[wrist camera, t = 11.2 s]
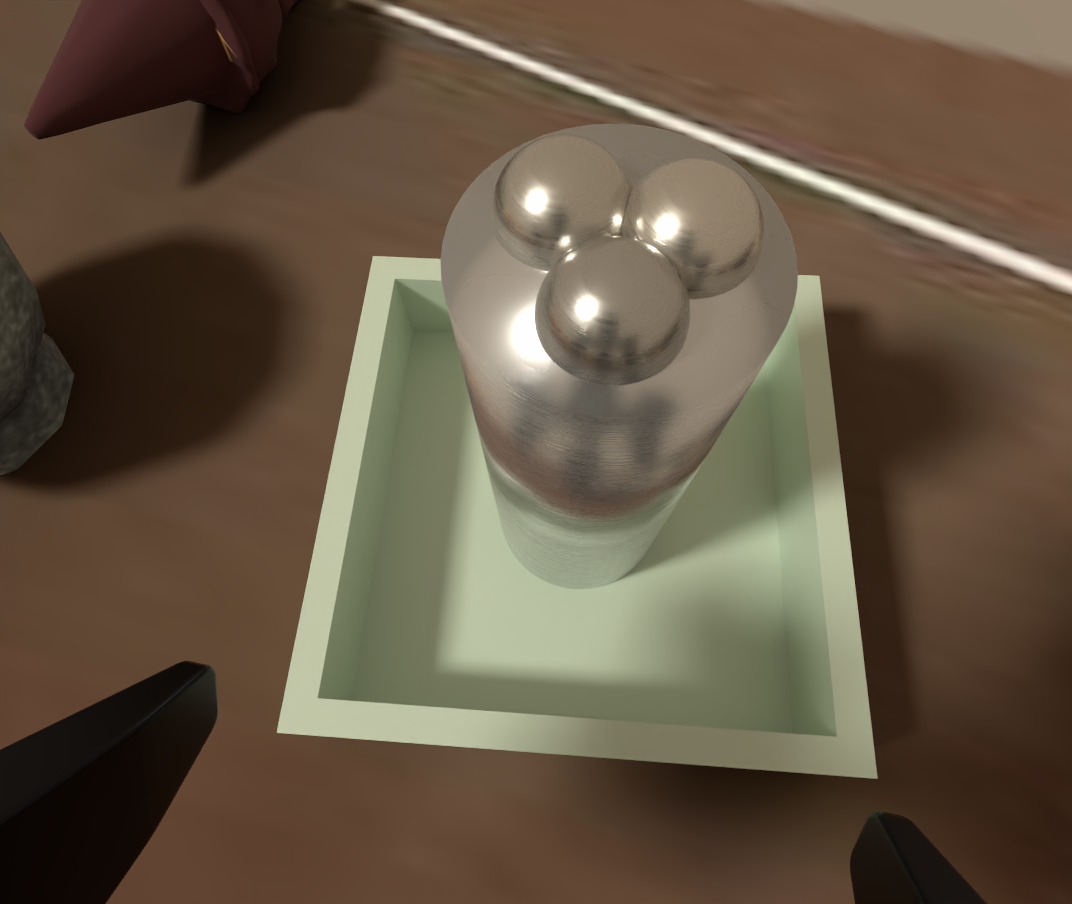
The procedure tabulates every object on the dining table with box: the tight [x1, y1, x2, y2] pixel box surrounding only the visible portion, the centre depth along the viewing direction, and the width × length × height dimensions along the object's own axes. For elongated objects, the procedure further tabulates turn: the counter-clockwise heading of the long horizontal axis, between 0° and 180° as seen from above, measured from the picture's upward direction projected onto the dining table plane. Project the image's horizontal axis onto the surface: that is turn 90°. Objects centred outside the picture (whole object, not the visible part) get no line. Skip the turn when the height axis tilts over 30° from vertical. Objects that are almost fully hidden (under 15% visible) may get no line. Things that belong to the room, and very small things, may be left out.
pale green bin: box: [277, 256, 878, 779], centre depth 19 cm, size 14×14×4 cm
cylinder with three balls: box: [440, 124, 798, 589], centre depth 14 cm, size 5×5×13 cm
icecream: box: [24, 0, 298, 139], centre depth 25 cm, size 7×7×15 cm
